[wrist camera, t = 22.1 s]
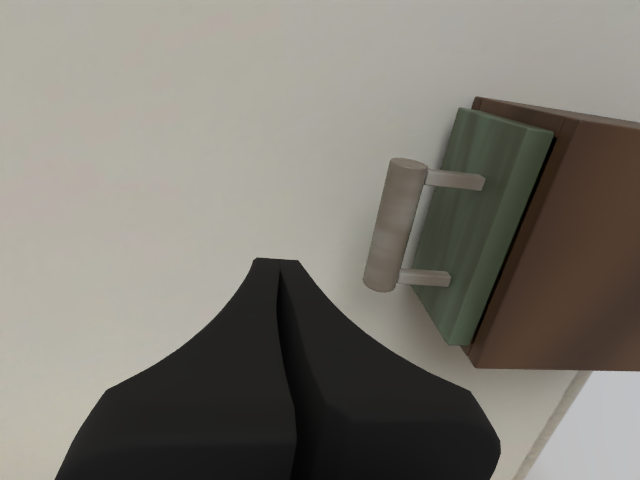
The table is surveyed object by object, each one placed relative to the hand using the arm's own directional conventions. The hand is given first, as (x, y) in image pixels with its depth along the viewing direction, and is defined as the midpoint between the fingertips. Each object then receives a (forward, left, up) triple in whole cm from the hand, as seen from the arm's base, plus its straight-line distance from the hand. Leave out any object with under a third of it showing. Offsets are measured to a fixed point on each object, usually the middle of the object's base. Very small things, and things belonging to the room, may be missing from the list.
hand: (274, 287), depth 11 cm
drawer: (+7, -11, -9) cm, 16 cm away
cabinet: (+8, -15, -10) cm, 20 cm away
